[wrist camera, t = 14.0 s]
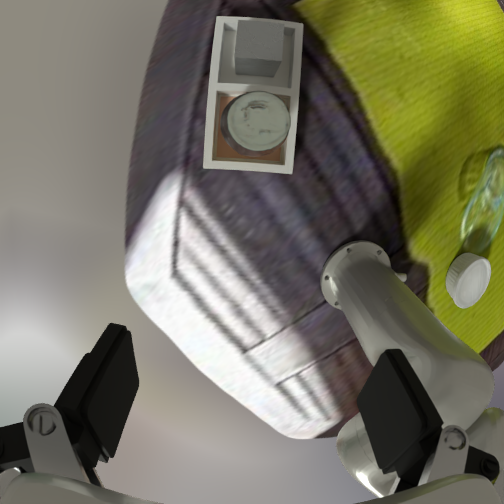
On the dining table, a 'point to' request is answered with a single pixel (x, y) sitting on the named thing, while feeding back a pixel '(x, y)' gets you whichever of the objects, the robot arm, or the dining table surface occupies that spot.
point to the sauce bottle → (255, 123)
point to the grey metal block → (258, 48)
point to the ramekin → (468, 279)
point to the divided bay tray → (231, 85)
